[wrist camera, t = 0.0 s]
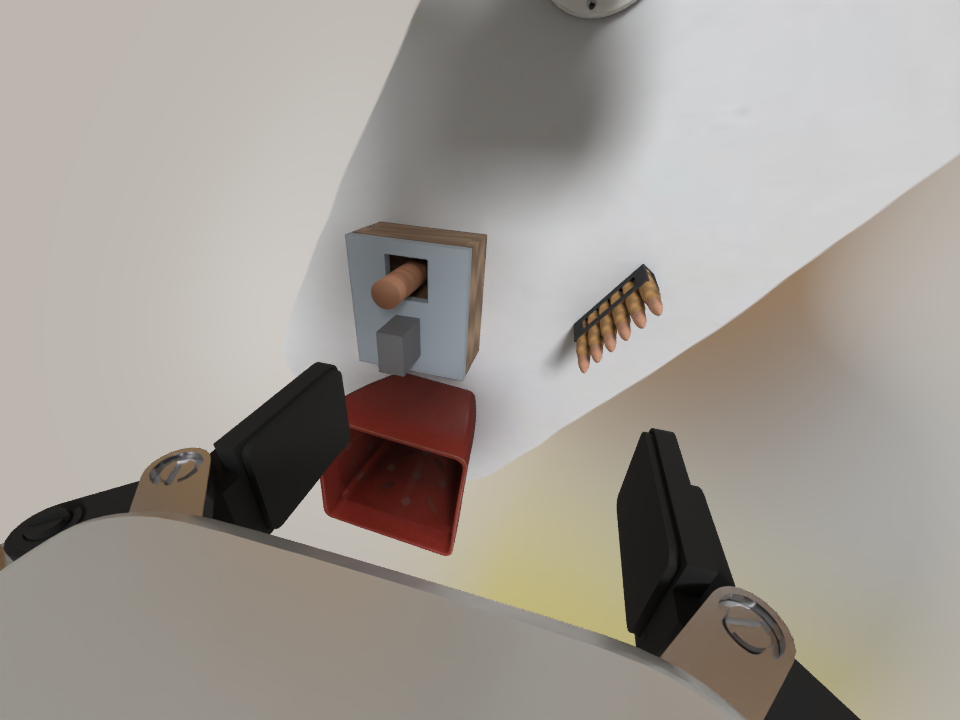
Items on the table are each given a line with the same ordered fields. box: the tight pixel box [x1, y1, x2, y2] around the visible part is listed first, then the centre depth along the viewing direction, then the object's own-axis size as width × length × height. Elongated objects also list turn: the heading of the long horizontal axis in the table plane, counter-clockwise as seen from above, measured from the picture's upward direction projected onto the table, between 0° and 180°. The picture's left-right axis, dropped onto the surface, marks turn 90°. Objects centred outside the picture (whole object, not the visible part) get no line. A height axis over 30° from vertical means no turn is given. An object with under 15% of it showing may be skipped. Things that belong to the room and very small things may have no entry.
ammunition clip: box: [574, 264, 663, 373], centre depth 40 cm, size 11×2×12 cm, turn 141°
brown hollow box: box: [352, 222, 487, 374], centre depth 47 cm, size 16×14×7 cm
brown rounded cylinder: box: [371, 258, 428, 310], centre depth 42 cm, size 3×3×12 cm
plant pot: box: [320, 374, 476, 556], centre depth 54 cm, size 19×19×17 cm
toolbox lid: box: [345, 233, 472, 381], centre depth 42 cm, size 16×14×6 cm
